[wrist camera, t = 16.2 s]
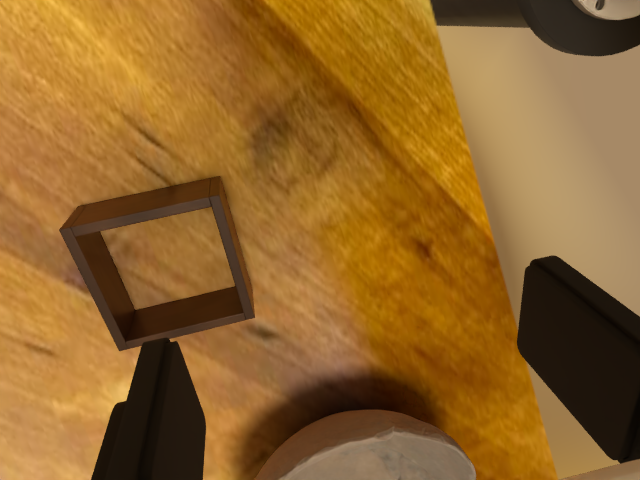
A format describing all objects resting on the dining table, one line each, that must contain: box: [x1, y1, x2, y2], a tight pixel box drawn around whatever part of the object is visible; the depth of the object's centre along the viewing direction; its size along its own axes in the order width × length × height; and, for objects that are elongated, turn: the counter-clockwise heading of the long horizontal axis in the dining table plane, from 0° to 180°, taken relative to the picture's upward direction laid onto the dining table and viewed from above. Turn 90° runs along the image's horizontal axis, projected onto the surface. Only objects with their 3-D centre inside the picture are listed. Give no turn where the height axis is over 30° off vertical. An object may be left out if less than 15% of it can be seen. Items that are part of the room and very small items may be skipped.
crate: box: [59, 176, 255, 351], centre depth 37 cm, size 12×12×4 cm
